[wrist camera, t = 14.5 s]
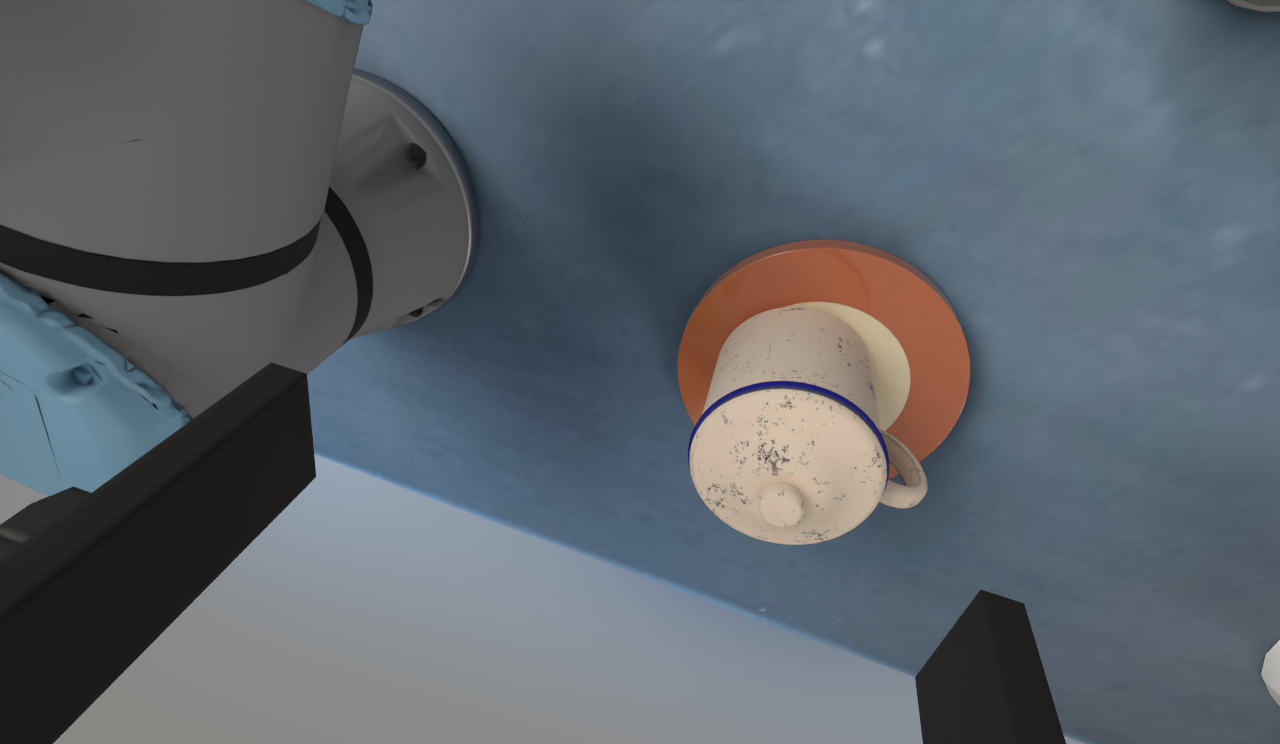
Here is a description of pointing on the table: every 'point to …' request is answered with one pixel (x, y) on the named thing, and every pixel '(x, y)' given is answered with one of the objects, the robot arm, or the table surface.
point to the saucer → (868, 303)
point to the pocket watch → (1258, 4)
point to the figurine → (1272, 672)
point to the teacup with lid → (797, 432)
